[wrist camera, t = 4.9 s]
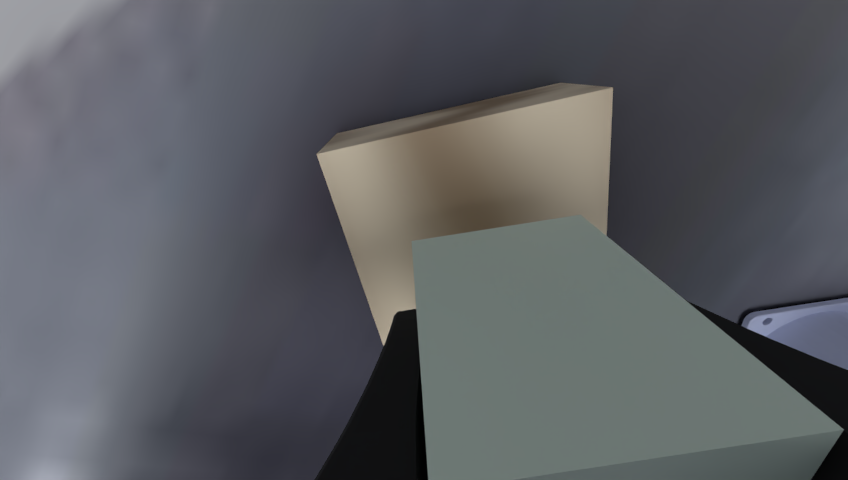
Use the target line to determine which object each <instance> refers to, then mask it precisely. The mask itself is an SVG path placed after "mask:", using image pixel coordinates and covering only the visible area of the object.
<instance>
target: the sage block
mask: <svg viewBox="0 0 848 480" xmlns="http://www.w3.org/2000/svg"><path fill="white" fill-rule="evenodd" d="M412 255H413V269H414V284H415V298H416V312H417V327H418V341H419V355H420V370H421V384H422V398H423V413H424V427H425V441H426V455H427V470H428V480H811V479H812V477H813V476H814V474H815V473H816V471H817V470H818V468H819V467H820V465H821V464H822V462H823V461H824V459H825V458H826V456H827V455H828V453H829V452H830V450H831V448H832V447H833V445H834V444H835V442H836V441H837V439H838V438H839V436H840V435H841V433H842V432H843V430H844V429H843V428H841V427H840V426H839V425H838V424H836V423H835V422H834V421H833V420H832V419H830V418H829V417H828V416H827V415H825V414H824V413H823V412H822V411H820V410H819V409H818V408H817V407H816V406H814V405H813V404H812V403H811V402H809V401H808V400H807V399H806V398H805V397H803V396H802V395H801V394H800V393H798V392H797V391H796V390H795V389H794V388H792V387H791V386H790V385H789V384H787V383H786V382H785V381H784V380H782V379H781V378H780V377H779V376H778V375H776V374H775V373H774V372H773V371H771V370H770V369H769V368H768V367H767V366H765V365H764V364H763V363H762V362H760V361H759V360H758V359H757V358H756V357H754V356H753V355H752V354H751V353H749V352H748V351H747V350H746V349H745V348H743V347H742V346H741V345H740V344H738V343H737V342H736V341H735V340H733V339H732V338H731V337H730V336H729V335H727V334H726V333H725V332H724V331H722V330H721V329H720V328H719V327H718V326H716V325H715V324H714V323H713V322H711V321H710V320H709V319H708V318H707V317H705V316H704V315H703V314H702V313H700V312H699V311H698V310H697V309H695V308H694V307H693V306H692V305H691V304H689V303H688V302H687V301H686V300H684V299H683V298H682V297H681V296H680V295H678V294H677V293H676V292H675V291H673V290H672V289H671V288H670V287H669V286H667V285H666V284H665V283H664V282H662V281H661V280H660V279H659V278H658V277H656V276H655V275H654V274H653V273H651V272H650V271H649V270H648V269H646V268H645V267H644V266H643V265H642V264H640V263H639V262H638V261H637V260H635V259H634V258H633V257H632V256H631V255H629V254H628V253H627V252H626V251H624V250H623V249H622V248H621V247H620V246H618V245H617V244H616V243H615V242H613V241H612V240H611V239H610V238H608V237H607V236H606V235H605V234H604V233H602V232H601V231H600V230H599V229H597V228H596V227H595V226H594V225H593V224H591V223H590V222H589V221H588V220H586V219H585V218H584V217H583V216H582V215H575V216H568V217H562V218H556V219H549V220H543V221H536V222H530V223H524V224H517V225H511V226H504V227H498V228H492V229H485V230H479V231H472V232H466V233H460V234H453V235H447V236H440V237H434V238H428V239H421V240H415V241H412Z"/></svg>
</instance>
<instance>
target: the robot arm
mask: <svg viewBox="0 0 848 480" xmlns="http://www.w3.org/2000/svg"><path fill="white" fill-rule="evenodd" d="M687 302H688V301H687ZM688 303H689V304H691V305H692V306H693V307H694V308H695V309H697V310H698V311H699V312H700V313H702V314H703V315H704V316H705V317H707V318H708V319H709V320H710V321H711V322H713V323H714V324H715V325H716V326H718V327H719V328H720V329H721V330H722V331H724V332H725V333H726V334H727V335H729V336H730V337H731V338H732V339H733V340H735V341H736V342H737V343H738V344H740V345H741V346H742V347H743V348H745V349H746V350H747V351H748V352H749V353H751V354H752V355H753V356H754V357H756V358H757V359H758V360H759V361H760V362H762V363H763V364H764V365H765V366H767V367H768V368H769V369H770V370H771V371H773V372H774V373H775V374H776V375H778V376H779V377H780V378H781V379H782V380H784V381H785V382H786V383H787V384H789V385H790V386H791V387H792V388H794V389H795V390H796V391H797V392H798V393H800V394H801V395H802V396H803V397H805V398H806V399H807V400H808V401H809V402H811V403H812V404H813V405H814V406H816V407H817V408H818V409H819V410H820V411H822V412H823V413H824V414H825V415H827V416H828V417H829V418H830V419H832V420H833V421H834V422H835V423H836V424H838V425H839V426H840V427H841V428H843V429H844V430H843V432H842V433H841V435H840V436H839V438H838V439H837V441H836V442H835V444H834V445H833V447H832V448H831V450H830V452H829V453H828V455H827V456H826V458H825V459H824V461H823V462H822V464H821V465H820V467H819V468H818V470H817V471H816V473H815V474H814V476H813V477H812V479H811V480H848V298H842V299H835V300H829V301H822V302H815V303H809V304H802V305H796V306H789V307H783V308H776V309H769V310H763V311H756V312H752V313H750V314H748V315H747V316H746V317H745V318H744V320H743V323H742V326H740V325H738V324H736V323H734V322H731V321H729V320H727V319H725V318H723V317H720V316H718V315H716V314H714V313H712V312H710V311H707V310H705V309H703V308H701V307H699V306H697V305H695V304H692V303H690V302H688ZM315 480H428V470H427V455H426V441H425V427H424V413H423V398H422V384H421V370H420V355H419V341H418V327H417V312H416V309H411V310H405V311H398V312H397V313H396V314H395V315H394V317H393V321H392V324H391V327H390V331H389V333H388V336H387V339H386V342H385V344H384V347H383V349H382V352H381V354H380V357H379V359H378V361H377V364H376V366H375V368H374V371H373V373H372V375H371V377H370V380H369V382H368V384H367V386H366V388H365V390H364V392H363V394H362V396H361V398H360V400H359V402H358V404H357V406H356V408H355V410H354V412H353V414H352V416H351V418H350V420H349V422H348V424H347V425H346V427H345V429H344V431H343V433H342V434H341V436H340V438H339V440H338V442H337V443H336V445H335V447H334V449H333V450H332V452H331V454H330V455H329V457H328V459H327V460H326V462H325V464H324V465H323V467H322V469H321V470H320V472H319V473H318V475H317V477H316V478H315Z"/></svg>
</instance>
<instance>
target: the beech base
mask: <svg viewBox="0 0 848 480" xmlns="http://www.w3.org/2000/svg"><path fill="white" fill-rule="evenodd" d="M612 100H613V87H603V86H592V85H581V84H570V83H557V84H552V85H548V86H544V87H539V88H535V89H530V90H526V91H522V92H517V93H513V94H508V95H504V96H500V97H495V98H491V99H486V100H482V101H477V102H473V103H469V104H464V105H460V106H455V107H451V108H447V109H442V110H438V111H433V112H429V113H425V114H420V115H416V116H411V117H407V118H402V119H398V120H394V121H389V122H385V123H380V124H376V125H372V126H367V127H363V128H358V129H354V130H350V131H345V132H341V133H337V134H336V135H335V136H334V137H333V138H332V139H331V140H330V141H329V142H328V143H327V144H326V145H325V146H324V147H323V148H322V149H321V150H320V151H319V152H318V153H317V157H318V160H319V163H320V166H321V168H322V171H323V174H324V177H325V180H326V183H327V186H328V188H329V191H330V194H331V197H332V200H333V203H334V206H335V208H336V211H337V214H338V217H339V220H340V223H341V226H342V228H343V231H344V234H345V237H346V240H347V243H348V246H349V249H350V251H351V254H352V257H353V260H354V263H355V266H356V269H357V271H358V274H359V277H360V280H361V283H362V286H363V289H364V291H365V294H366V297H367V300H368V303H369V306H370V309H371V312H372V314H373V317H374V320H375V323H376V326H377V329H378V332H379V334H380V337H381V340H382V343H383V346H384V344H385V342H386V339H387V336H388V333H389V331H390V327H391V324H392V321H393V317H394V315H395V314H396V313H397V312H398V311H405V310H411V309H416V298H415V284H414V269H413V255H412V241H415V240H421V239H428V238H434V237H440V236H447V235H453V234H460V233H466V232H472V231H479V230H485V229H492V228H498V227H504V226H511V225H517V224H524V223H530V222H536V221H543V220H549V219H556V218H562V217H568V216H575V215H582V216H583V217H584V218H585V219H586V220H588V221H589V222H590V223H591V224H593V225H594V226H595V227H596V228H597V229H599V230H600V231H601V232H602V233H604V234H605V235H606V236H607V216H608V192H609V169H610V146H611V123H612Z"/></svg>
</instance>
